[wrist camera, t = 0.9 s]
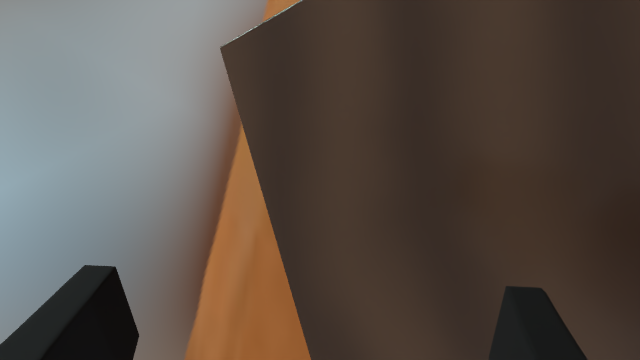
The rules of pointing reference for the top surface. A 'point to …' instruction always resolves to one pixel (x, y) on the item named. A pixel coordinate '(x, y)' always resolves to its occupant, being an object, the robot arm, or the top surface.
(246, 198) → the top surface
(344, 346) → the cabinet
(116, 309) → the robot arm
